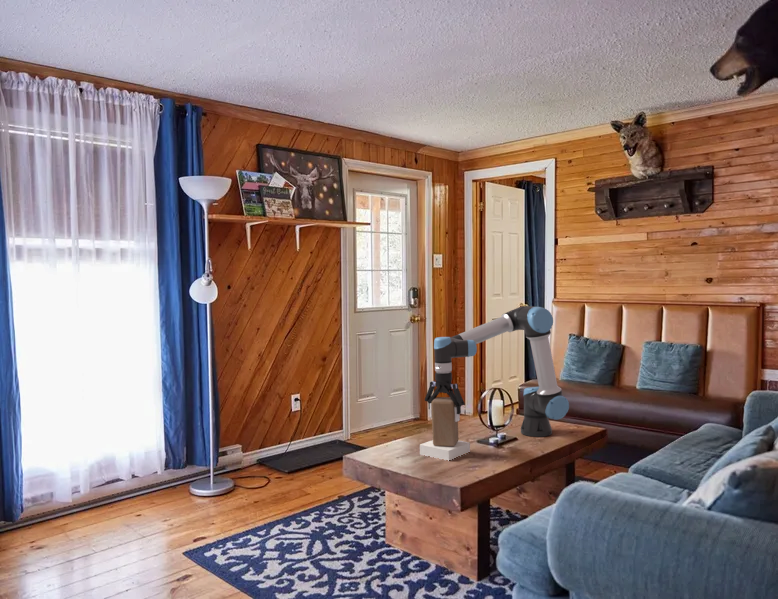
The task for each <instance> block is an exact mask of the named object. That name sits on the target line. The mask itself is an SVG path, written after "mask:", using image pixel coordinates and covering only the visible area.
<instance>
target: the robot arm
mask: <svg viewBox="0 0 778 599" xmlns="http://www.w3.org/2000/svg"><path fill="white" fill-rule="evenodd" d="M553 326H554V318H553V314H552V313H551V312H550V310H548V309H547V308H545V307H542V306H533V305H532V306H528V305H521V306H519V307H516V308H514V309H512V310H510V311H507V312H504V313H503V314H502V315H501V317H497V318H495V319H493V320H491V321H488V322H485V323H483V324H480V325H478V326H476V327H473V328H470V329H468V330H465V331H464V332H461V333H459V334H455V335H453V336H439V337H437V336H436V337H435V338H434V341H433V349H434V352H433V353H434V354H433V355H434V371H435V373H434V380H431V381H430V382H429V386H428V387H429V388H428V389H427V393H426V395H425V398H424V401H425V402H427V403H428V410H429V418H431V419H432V407H431V403H432V401H433V400H434V399H435V398H437V397H438V396H439V394H440V393H441V394H442V393H443V394H447V395H448V397H450V398H451V399H452V401H453V402H454V404H455V405H456V407H454V411H455V422H457V421H458V422H460V415H461V413H462V406H465V404H466V403H465V401H464V399H463V397H462V394H461V392H460V389H459V384H458V383H452V381H453V372H452V370H453V364H452V359H454V358H469V357H474V356H476V354H477V352H478V349H477V348H478V346H477V345H478V344H480V343H483V342H485V341H487V340H489V339H493V338H495V337H497V336H499V335H502V334H504V333H507V332H508V333H513V332H514V331H524V334H525V338H527V340H529V342H530V347H531V353H532V357H533V359H532V360H533V362H534V363H533V364H534V369H535V374H536V379H537V384H538V386H530V387H525V388H524V389H523V420H522V424H521V426H520V434H522V435H524V436H526V437H537V438H539V437H543V438H544V437H548V436H551V435H552V434H553V429H552V425H551V421H550V420H555V421H556V420H557V421H558V420H561V419H562V418H564V417H565V416H566V415H567V414H568V412H569V409H570V402H569V400H568V398H566V397H565V396H564V394H563V390H562V388H561V387H560V385H559V386H558V382H557V376H556V371H555V366H554V360H553V354H552V349H551V345H550V339H549V336H550V335H552V332H551V329H553V328H552V327H553ZM549 419H550V420H549Z"/></svg>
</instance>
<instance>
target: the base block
mask: <svg viewBox="0 0 778 599" xmlns="http://www.w3.org/2000/svg"><path fill="white" fill-rule="evenodd" d="M468 452H470V453H471V442H468V441H463V440H460V439H458V442H457V443H456V445H455V446H435V445H434V444H433V439H432V440H431V439H430V440H429V441H426V442H423V443H420V444H419V455H420V456H424V455H425V457H428V456H430V458H433V457H434V459H437V458H439V459H438V460H442V459H444V460H443V461H446V460H448V461H447V462H450V461H449V460H451V461H453V460H455V459H454V458H456V457H458V456H460V457H462V456H461V455H463V454H465V453H468ZM468 454H469V453H468ZM465 455H466V454H465ZM463 456H464V455H463ZM458 458H459V457H458ZM452 459H453V460H452ZM456 459H457V458H456Z"/></svg>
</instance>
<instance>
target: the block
mask: <svg viewBox="0 0 778 599" xmlns="http://www.w3.org/2000/svg"><path fill="white" fill-rule="evenodd" d="M431 407H432V418H431V425H432V426H431V428H432V440H433V444H434V445H435V446H455V445H456V443H457V442H458V440H460V439H459V421H457V422H455V411H454V407H456V405H455V404H454V402H453V401H452V399H451V398H450V396H448V397H447V396H444V397H443V396H442V397H441V396H437V397H436V398H435V399H434V400H433V401H432V403H431Z"/></svg>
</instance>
